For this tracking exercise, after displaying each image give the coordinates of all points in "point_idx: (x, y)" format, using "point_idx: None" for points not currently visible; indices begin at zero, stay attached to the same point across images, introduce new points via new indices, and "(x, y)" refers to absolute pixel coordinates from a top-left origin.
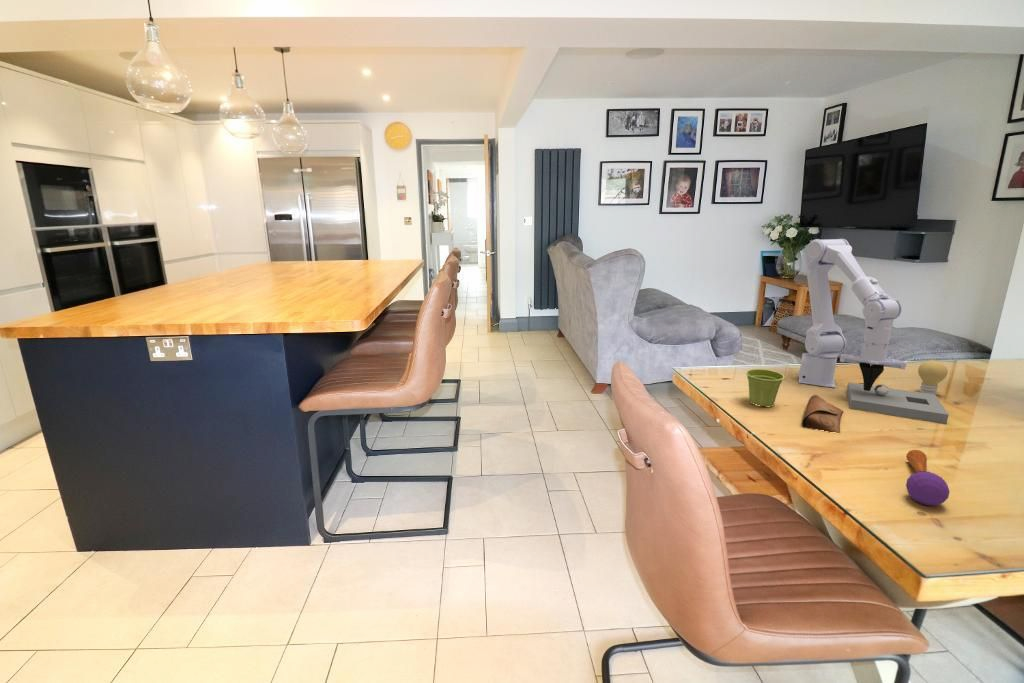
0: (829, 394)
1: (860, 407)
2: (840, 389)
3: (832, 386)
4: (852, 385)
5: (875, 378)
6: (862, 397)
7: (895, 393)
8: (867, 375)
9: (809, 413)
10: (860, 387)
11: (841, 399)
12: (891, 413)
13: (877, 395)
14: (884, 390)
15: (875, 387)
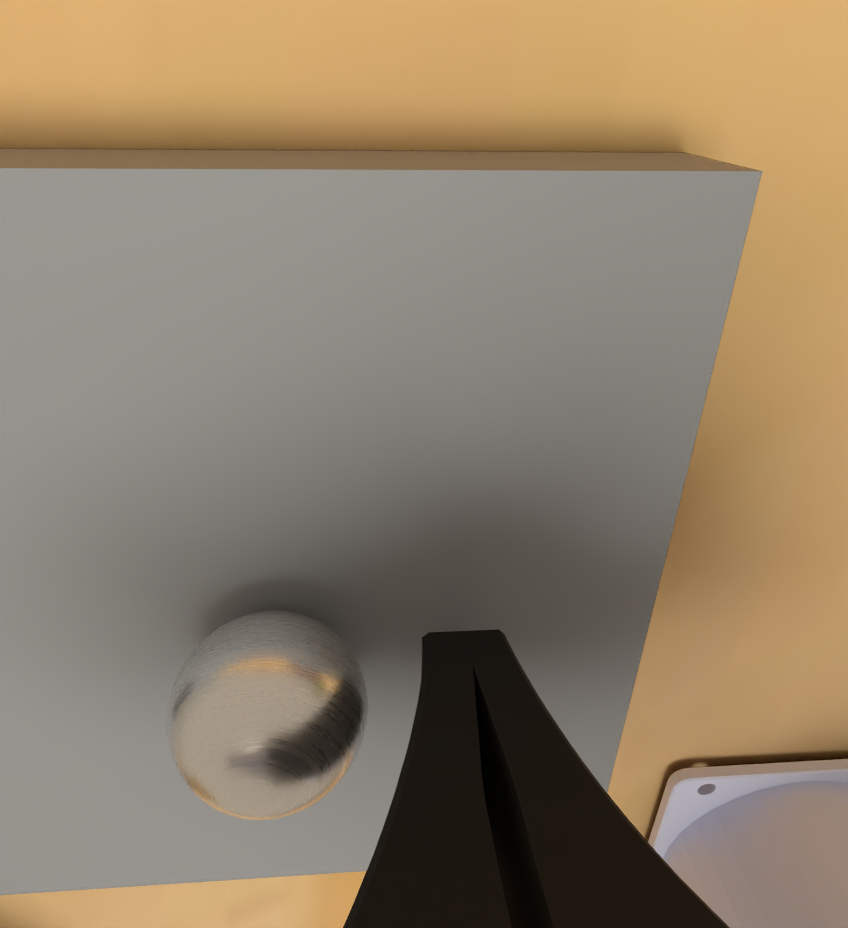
0: (778, 588)
1: (562, 156)
2: (617, 763)
3: (696, 777)
4: None
5: (398, 855)
6: (537, 414)
7: (117, 772)
8: (589, 892)
9: None
10: None
11: (692, 491)
12: (114, 150)
13: (317, 607)
14: (223, 663)
15: (356, 714)
